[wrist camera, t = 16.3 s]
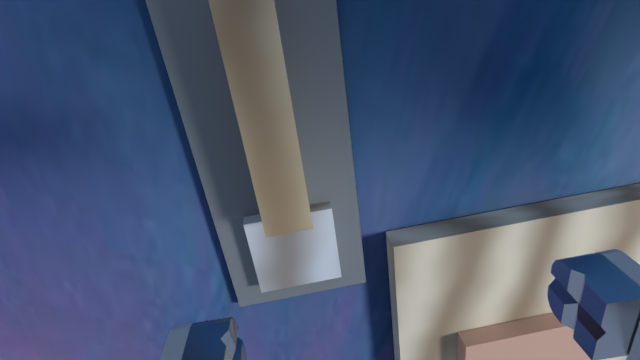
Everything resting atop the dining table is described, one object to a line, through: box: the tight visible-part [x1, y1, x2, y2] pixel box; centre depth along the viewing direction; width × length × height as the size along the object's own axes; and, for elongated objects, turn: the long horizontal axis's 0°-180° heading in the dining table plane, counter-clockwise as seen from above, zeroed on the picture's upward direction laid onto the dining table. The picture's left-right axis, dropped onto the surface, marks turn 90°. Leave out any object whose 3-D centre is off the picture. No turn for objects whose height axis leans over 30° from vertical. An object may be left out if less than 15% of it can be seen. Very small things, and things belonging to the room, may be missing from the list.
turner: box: [208, 0, 342, 293], centre depth 24 cm, size 6×20×3 cm, turn 8°
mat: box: [145, 0, 366, 307], centre depth 25 cm, size 10×26×1 cm, turn 7°
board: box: [386, 183, 640, 360], centre depth 35 cm, size 22×24×2 cm
